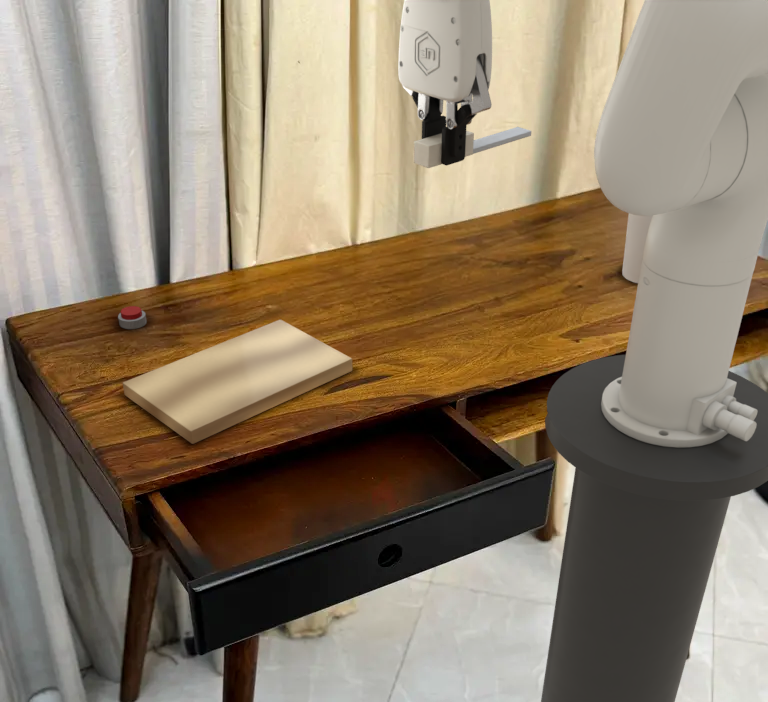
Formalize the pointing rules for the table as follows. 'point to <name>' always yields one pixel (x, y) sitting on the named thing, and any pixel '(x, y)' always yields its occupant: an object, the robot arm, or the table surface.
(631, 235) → the white cup
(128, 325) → the push button
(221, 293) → the table surface
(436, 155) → the knife
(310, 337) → the cutting board
